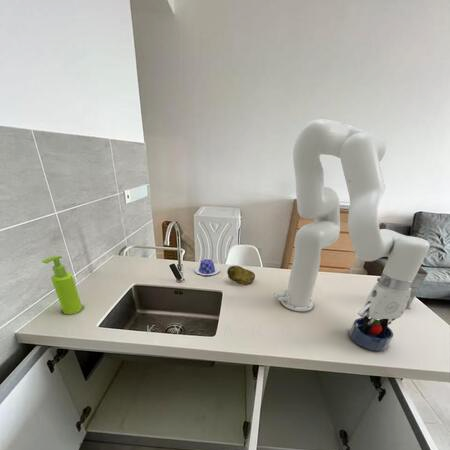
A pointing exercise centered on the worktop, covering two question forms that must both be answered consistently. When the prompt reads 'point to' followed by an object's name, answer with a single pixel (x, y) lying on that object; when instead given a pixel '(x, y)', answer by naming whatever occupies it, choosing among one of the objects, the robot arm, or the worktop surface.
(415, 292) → the coffee box
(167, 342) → the worktop surface
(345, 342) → the worktop surface
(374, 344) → the dessert bowl
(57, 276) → the soap dispenser
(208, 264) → the pudding
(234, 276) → the potato
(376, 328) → the strawberry
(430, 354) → the worktop surface
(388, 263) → the robot arm
